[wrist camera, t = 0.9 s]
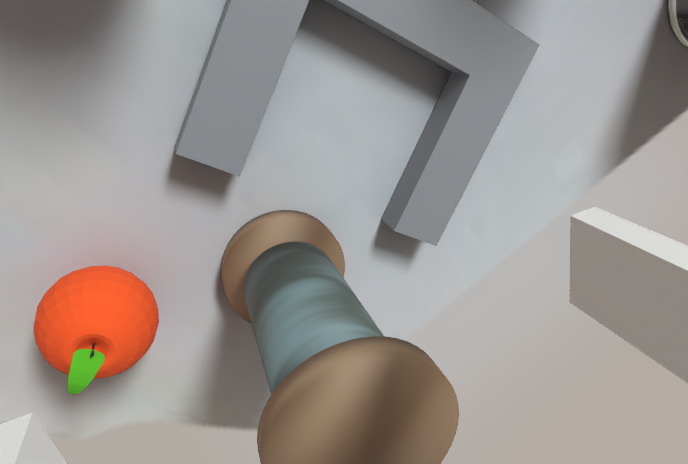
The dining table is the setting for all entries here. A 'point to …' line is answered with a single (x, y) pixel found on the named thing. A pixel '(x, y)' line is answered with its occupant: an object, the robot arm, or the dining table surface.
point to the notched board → (407, 29)
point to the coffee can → (679, 19)
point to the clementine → (95, 324)
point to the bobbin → (330, 355)
